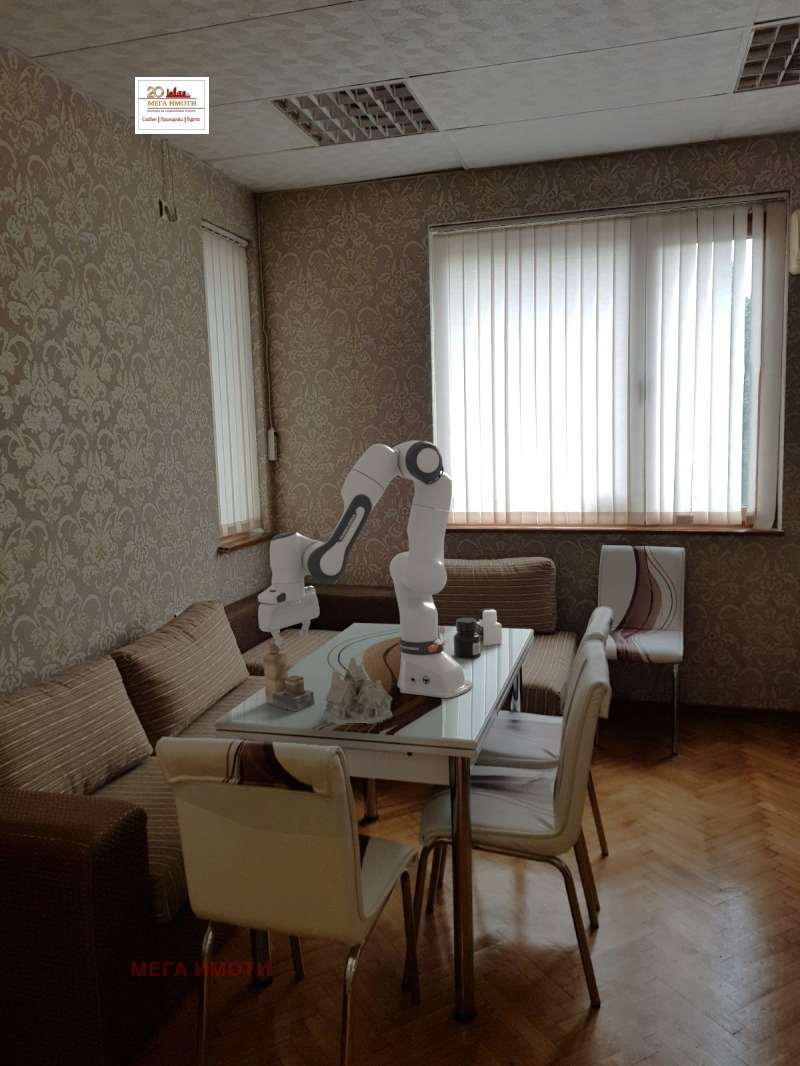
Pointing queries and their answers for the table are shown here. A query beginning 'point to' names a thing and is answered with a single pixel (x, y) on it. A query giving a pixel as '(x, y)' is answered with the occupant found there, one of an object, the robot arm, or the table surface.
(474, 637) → the ink bottle
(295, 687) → the small wooden block
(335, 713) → the ceramic cottage
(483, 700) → the table surface
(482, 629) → the medicine bottle
